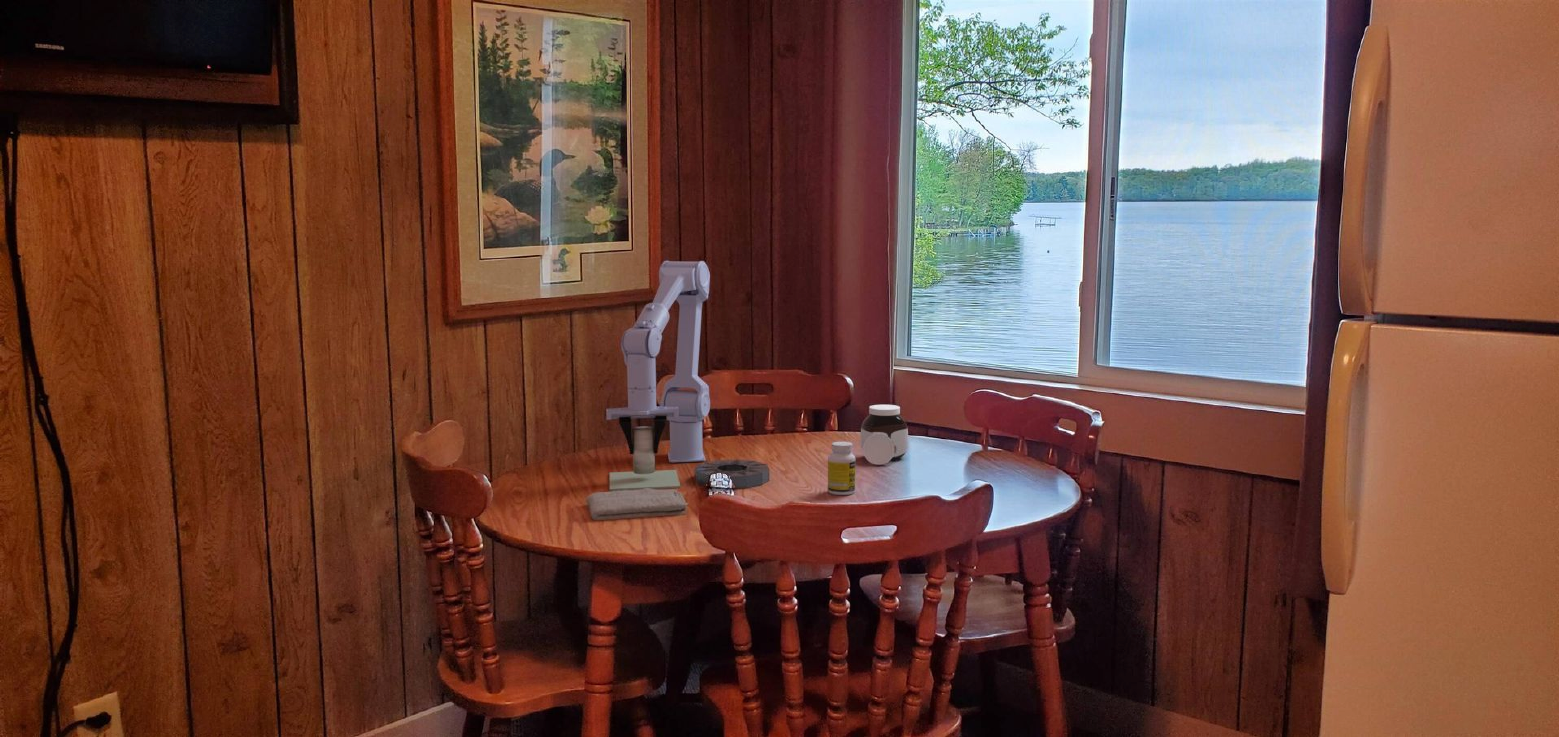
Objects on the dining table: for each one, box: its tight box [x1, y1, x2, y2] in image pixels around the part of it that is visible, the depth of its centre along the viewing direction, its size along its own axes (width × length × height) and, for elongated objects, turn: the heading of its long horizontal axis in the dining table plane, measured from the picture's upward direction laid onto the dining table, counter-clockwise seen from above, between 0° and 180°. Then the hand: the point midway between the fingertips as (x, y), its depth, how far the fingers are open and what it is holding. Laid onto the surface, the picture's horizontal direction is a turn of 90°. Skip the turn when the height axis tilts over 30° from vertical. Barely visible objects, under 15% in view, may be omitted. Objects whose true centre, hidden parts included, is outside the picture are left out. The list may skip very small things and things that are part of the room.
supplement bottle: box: [827, 441, 856, 496], centre depth 212 cm, size 5×5×10 cm
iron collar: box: [694, 459, 770, 489], centre depth 224 cm, size 15×15×2 cm
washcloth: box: [585, 488, 689, 522], centre depth 201 cm, size 12×18×3 cm, turn 105°
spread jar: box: [860, 404, 909, 466], centre depth 240 cm, size 12×11×12 cm
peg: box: [632, 426, 656, 474], centre depth 222 cm, size 4×4×9 cm
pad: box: [609, 469, 681, 492], centre depth 223 cm, size 14×14×1 cm
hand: (643, 452), depth 222 cm, fingers closed on peg, 4 cm apart
